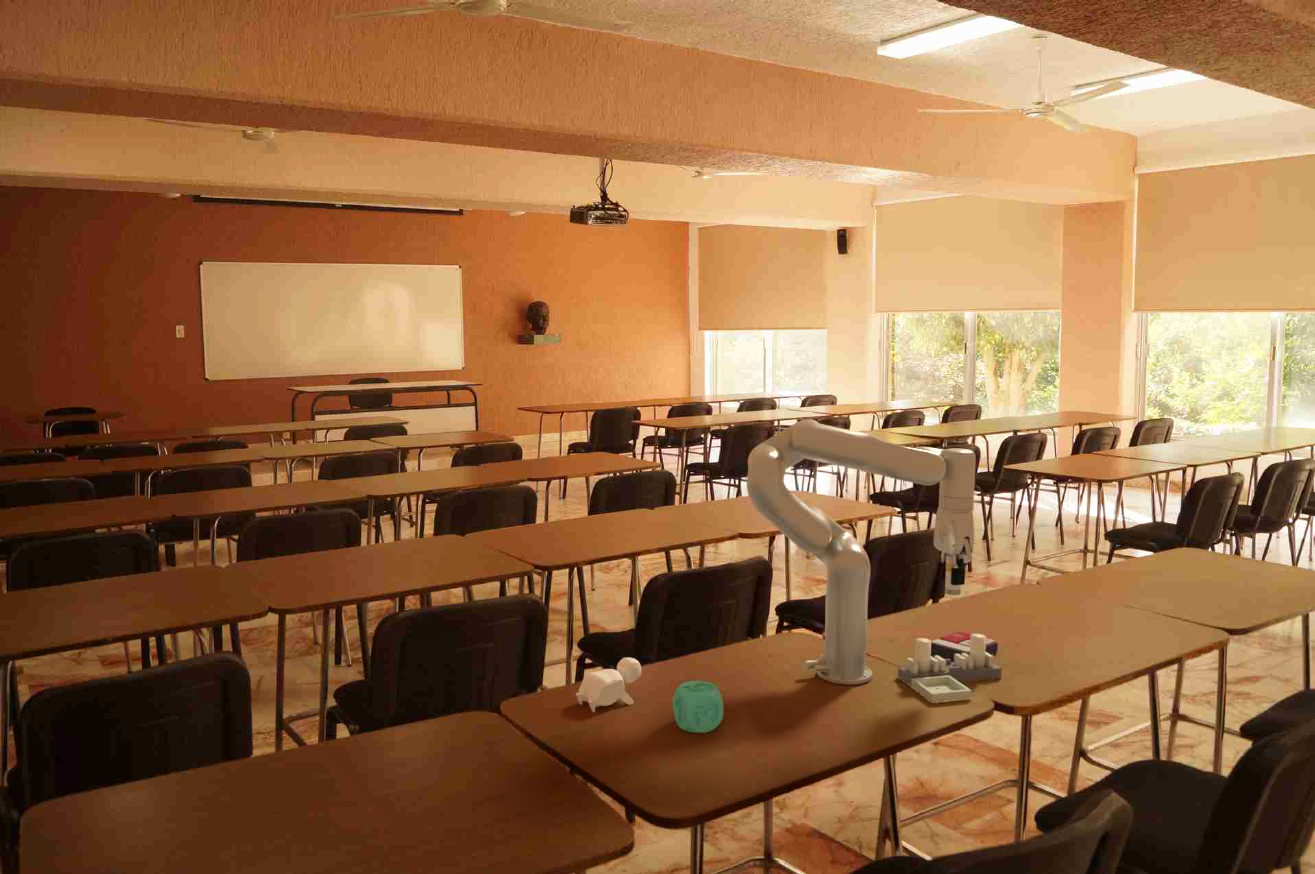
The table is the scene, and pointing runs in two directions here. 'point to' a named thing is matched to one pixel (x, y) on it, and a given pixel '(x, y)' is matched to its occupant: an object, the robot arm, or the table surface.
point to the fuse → (948, 587)
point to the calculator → (957, 645)
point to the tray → (940, 688)
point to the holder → (951, 663)
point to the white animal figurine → (609, 684)
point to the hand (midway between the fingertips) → (952, 581)
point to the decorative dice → (697, 706)
